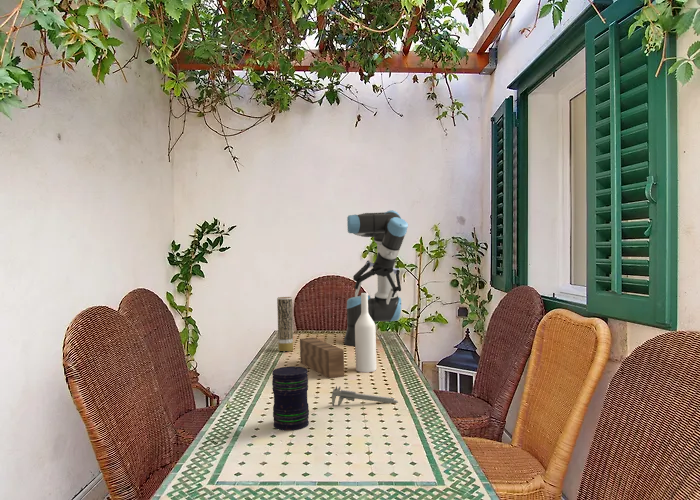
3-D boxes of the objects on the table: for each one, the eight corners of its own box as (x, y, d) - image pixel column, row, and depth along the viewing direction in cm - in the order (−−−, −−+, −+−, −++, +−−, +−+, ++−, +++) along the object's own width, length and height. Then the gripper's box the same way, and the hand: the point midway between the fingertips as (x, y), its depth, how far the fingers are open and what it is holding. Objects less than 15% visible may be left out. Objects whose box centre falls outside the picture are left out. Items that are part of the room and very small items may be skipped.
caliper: (332, 407, 160) (331, 386, 160) (332, 406, 161) (331, 385, 161) (398, 403, 162) (397, 383, 162) (397, 402, 163) (396, 382, 163)
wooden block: (300, 362, 219) (299, 338, 219) (313, 361, 222) (313, 337, 222) (329, 378, 192) (328, 351, 192) (344, 376, 195) (343, 349, 195)
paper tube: (294, 349, 248) (293, 296, 247) (291, 352, 241) (290, 298, 240) (280, 349, 248) (279, 296, 248) (277, 352, 241) (275, 298, 241)
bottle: (352, 371, 203) (350, 293, 202) (361, 366, 210) (359, 292, 210) (371, 373, 199) (369, 294, 199) (379, 368, 206) (378, 292, 206)
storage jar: (294, 433, 137) (292, 376, 137) (265, 427, 143) (264, 372, 142) (316, 421, 146) (315, 368, 146) (288, 416, 151) (287, 364, 151)
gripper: (357, 252, 202) (342, 297, 211) (418, 267, 205) (401, 310, 215) (356, 243, 208) (342, 287, 218) (415, 258, 212) (399, 300, 221)
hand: (371, 299), depth 216 cm, fingers open, 13 cm apart
